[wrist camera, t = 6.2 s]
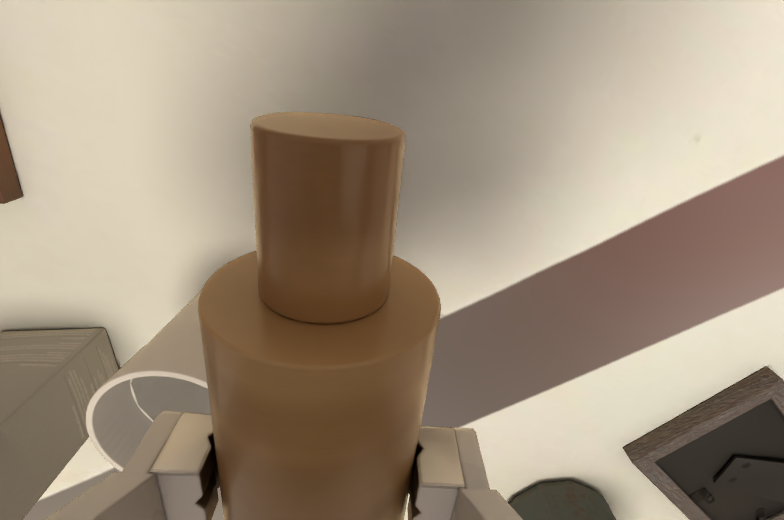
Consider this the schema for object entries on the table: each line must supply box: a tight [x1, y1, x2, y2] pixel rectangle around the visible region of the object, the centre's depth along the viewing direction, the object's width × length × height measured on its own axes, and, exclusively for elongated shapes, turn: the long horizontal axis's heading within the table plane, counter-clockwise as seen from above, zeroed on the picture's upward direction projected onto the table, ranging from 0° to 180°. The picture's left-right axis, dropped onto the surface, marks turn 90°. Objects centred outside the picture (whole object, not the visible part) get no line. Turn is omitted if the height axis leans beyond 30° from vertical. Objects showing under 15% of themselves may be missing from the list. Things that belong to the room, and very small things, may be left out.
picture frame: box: [623, 367, 784, 520], centre depth 38 cm, size 13×2×18 cm
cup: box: [86, 292, 211, 472], centre depth 26 cm, size 8×8×12 cm
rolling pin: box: [198, 112, 441, 520], centre depth 10 cm, size 15×4×4 cm, turn 174°
